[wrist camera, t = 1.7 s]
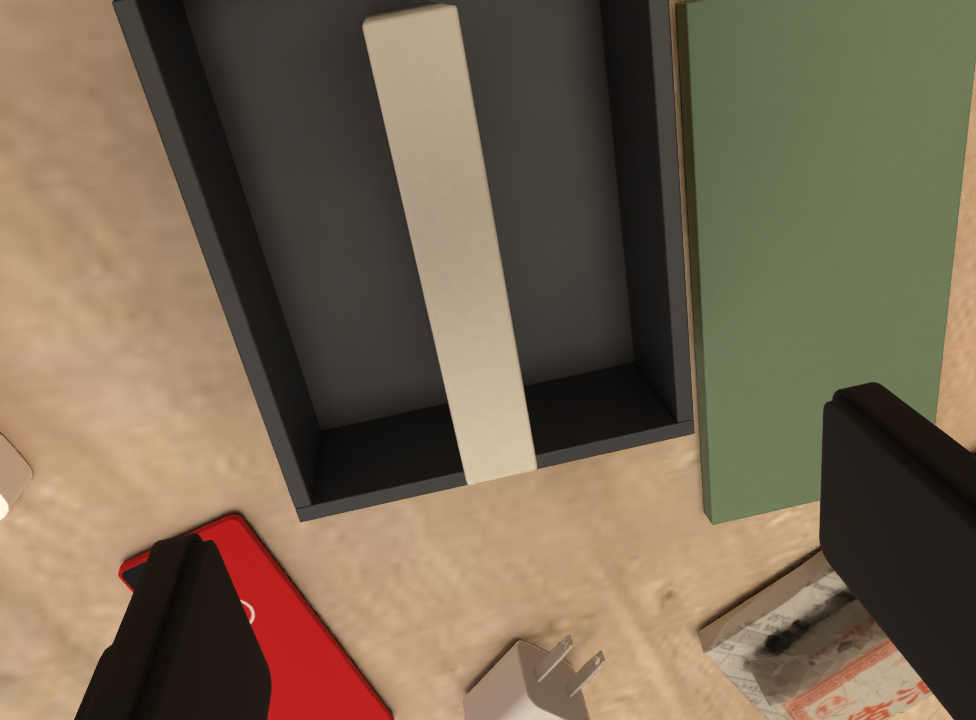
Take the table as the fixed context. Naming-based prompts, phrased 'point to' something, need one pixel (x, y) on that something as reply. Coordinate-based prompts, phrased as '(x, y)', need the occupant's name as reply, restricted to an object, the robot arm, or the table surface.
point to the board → (452, 231)
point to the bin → (386, 239)
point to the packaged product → (812, 652)
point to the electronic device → (285, 633)
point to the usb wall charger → (532, 686)
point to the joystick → (11, 476)
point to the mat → (816, 221)
